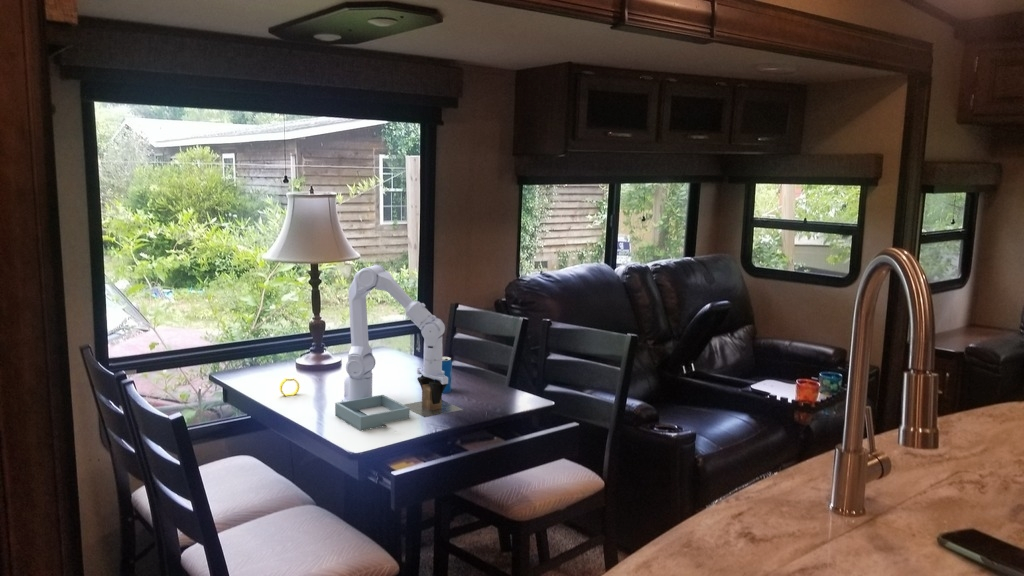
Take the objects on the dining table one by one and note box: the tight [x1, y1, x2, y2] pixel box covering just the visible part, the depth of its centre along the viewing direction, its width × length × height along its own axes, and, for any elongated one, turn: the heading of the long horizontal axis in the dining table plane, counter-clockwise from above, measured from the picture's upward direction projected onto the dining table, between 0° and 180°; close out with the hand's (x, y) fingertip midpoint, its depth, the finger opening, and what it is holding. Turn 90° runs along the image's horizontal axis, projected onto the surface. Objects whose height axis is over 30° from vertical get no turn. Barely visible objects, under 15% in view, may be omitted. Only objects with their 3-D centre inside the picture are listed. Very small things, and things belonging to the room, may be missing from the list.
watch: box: [279, 376, 300, 397], centre depth 238 cm, size 6×3×6 cm, turn 123°
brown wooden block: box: [421, 384, 443, 410], centre depth 228 cm, size 4×4×7 cm
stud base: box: [403, 399, 464, 418], centre depth 228 cm, size 14×14×5 cm
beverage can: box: [434, 355, 453, 394], centre depth 247 cm, size 6×6×12 cm
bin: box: [334, 394, 411, 432], centre depth 219 cm, size 16×16×4 cm
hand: (431, 401), depth 228 cm, fingers closed on brown wooden block, 4 cm apart
